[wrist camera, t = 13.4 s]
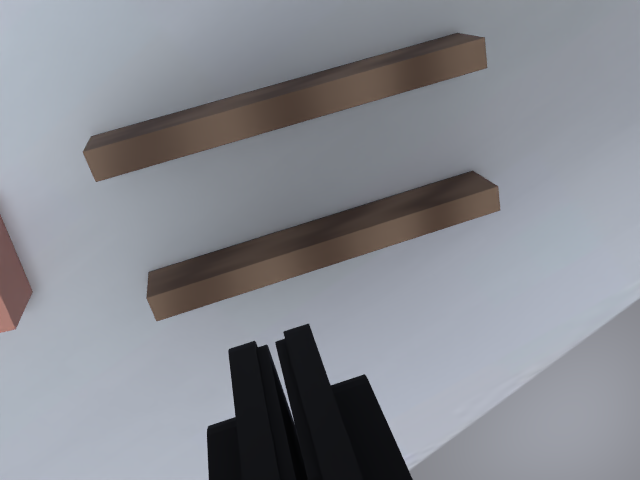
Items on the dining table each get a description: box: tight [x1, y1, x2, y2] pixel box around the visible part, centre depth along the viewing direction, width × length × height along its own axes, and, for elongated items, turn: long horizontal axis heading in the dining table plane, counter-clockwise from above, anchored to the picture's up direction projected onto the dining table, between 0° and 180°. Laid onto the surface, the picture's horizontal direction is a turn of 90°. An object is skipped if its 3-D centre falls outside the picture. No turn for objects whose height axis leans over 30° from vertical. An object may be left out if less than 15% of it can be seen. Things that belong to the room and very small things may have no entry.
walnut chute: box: [83, 33, 500, 321], centre depth 30 cm, size 20×10×3 cm, turn 103°
